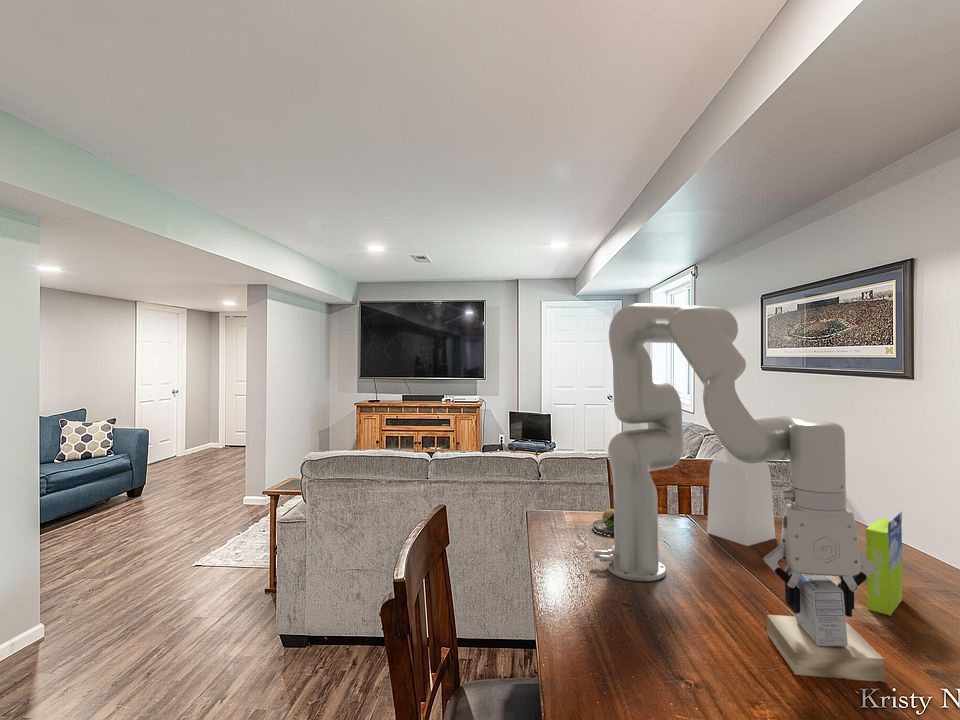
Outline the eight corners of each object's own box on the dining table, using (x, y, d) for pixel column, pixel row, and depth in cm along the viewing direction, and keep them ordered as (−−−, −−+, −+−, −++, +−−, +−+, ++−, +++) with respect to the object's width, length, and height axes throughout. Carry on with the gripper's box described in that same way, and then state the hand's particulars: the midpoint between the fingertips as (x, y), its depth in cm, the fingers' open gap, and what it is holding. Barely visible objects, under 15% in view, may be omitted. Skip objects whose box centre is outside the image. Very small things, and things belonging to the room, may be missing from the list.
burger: (612, 541, 141) (612, 512, 141) (583, 528, 151) (583, 502, 151) (645, 533, 147) (645, 506, 147) (615, 522, 157) (615, 496, 157)
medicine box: (848, 648, 80) (845, 590, 81) (816, 647, 81) (812, 590, 81) (824, 622, 88) (821, 570, 88) (795, 622, 89) (791, 570, 89)
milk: (707, 532, 146) (705, 437, 146) (734, 526, 151) (733, 434, 151) (747, 546, 135) (745, 443, 135) (775, 538, 140) (773, 439, 140)
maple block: (795, 679, 80) (794, 652, 80) (767, 637, 92) (766, 614, 92) (884, 686, 78) (884, 659, 78) (844, 643, 90) (843, 619, 90)
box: (879, 593, 107) (878, 507, 107) (905, 600, 104) (903, 511, 104) (865, 610, 100) (864, 517, 100) (892, 617, 97) (891, 522, 97)
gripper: (766, 503, 83) (768, 618, 83) (892, 507, 80) (894, 627, 80) (751, 491, 90) (753, 597, 90) (865, 495, 87) (867, 604, 87)
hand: (819, 610), depth 85 cm, fingers open, 6 cm apart
